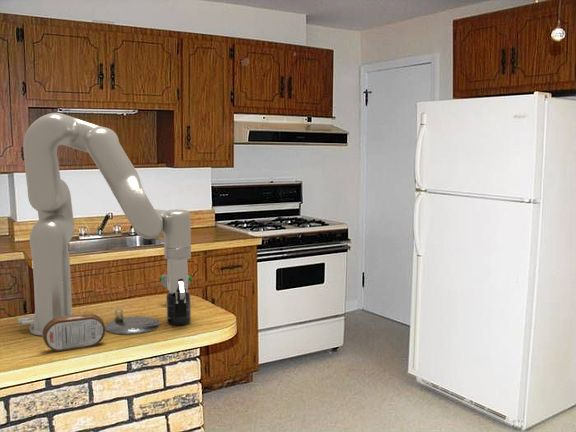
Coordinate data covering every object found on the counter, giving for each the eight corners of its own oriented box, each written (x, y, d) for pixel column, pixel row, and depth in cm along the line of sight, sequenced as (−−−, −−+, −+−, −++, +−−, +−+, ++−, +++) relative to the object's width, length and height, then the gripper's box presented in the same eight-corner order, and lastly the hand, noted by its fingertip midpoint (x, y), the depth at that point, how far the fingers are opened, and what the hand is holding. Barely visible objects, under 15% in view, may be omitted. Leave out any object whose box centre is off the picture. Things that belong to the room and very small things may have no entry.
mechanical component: (191, 307, 186) (190, 276, 185) (159, 306, 186) (158, 276, 185) (192, 304, 189) (192, 274, 188) (161, 304, 189) (161, 274, 188)
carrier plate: (106, 337, 156) (105, 324, 156) (104, 321, 170) (104, 309, 170) (162, 331, 161) (162, 319, 161) (156, 316, 175) (156, 305, 175)
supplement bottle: (182, 318, 174) (182, 279, 172) (195, 323, 169) (194, 283, 167) (162, 322, 169) (161, 282, 168) (174, 328, 164) (174, 286, 163)
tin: (104, 341, 153) (103, 310, 152) (107, 345, 150) (106, 313, 149) (43, 350, 146) (41, 318, 145) (44, 354, 143) (42, 321, 142)
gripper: (160, 248, 174) (162, 306, 176) (168, 259, 157) (169, 322, 159) (185, 247, 176) (186, 304, 178) (196, 257, 160) (196, 320, 162)
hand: (178, 312), depth 169 cm, fingers closed on supplement bottle, 6 cm apart
